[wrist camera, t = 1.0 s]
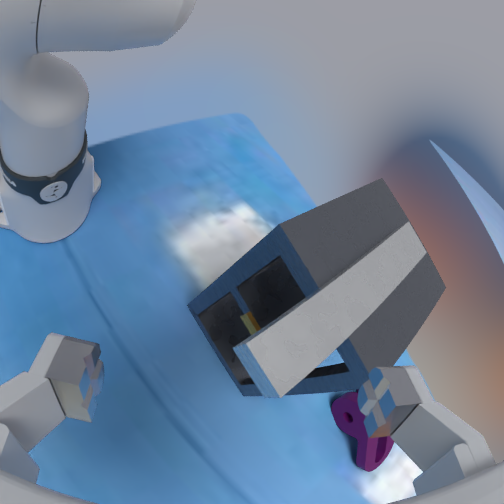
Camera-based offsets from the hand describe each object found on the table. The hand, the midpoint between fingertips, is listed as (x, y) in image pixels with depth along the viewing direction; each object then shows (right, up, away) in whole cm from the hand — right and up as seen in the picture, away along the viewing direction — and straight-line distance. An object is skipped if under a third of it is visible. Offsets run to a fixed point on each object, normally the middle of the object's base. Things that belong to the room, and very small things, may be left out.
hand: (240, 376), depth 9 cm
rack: (+2, -8, +43) cm, 44 cm away
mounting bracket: (+20, -30, +43) cm, 56 cm away
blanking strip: (+9, 0, +18) cm, 20 cm away
